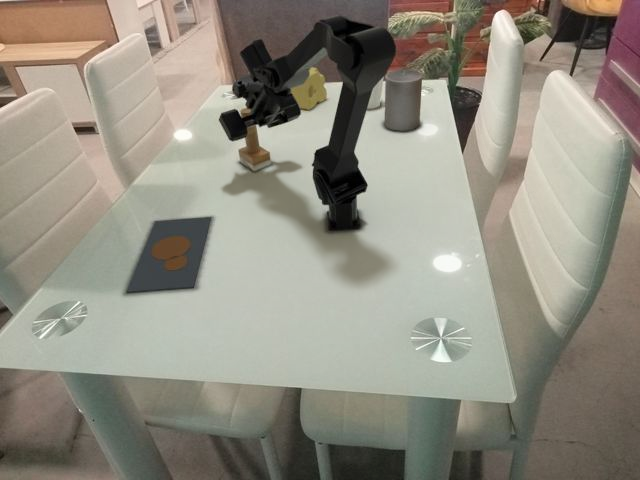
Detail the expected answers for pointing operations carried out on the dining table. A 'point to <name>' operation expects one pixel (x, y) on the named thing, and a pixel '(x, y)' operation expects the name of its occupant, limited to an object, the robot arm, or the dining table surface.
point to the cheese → (310, 90)
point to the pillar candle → (403, 99)
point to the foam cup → (376, 95)
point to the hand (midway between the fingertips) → (251, 131)
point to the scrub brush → (253, 148)
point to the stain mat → (171, 255)
